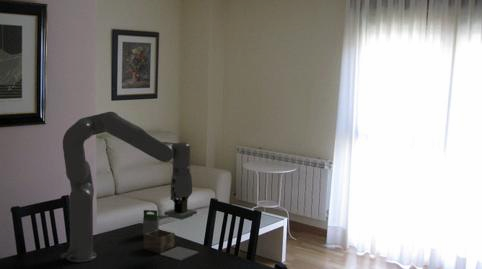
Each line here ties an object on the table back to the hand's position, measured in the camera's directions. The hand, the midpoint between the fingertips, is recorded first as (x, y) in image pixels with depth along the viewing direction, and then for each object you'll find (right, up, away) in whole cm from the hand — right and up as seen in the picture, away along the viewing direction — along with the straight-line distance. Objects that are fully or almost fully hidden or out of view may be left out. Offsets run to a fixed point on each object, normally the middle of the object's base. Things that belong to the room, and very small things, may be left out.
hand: (180, 211), depth 246 cm
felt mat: (-1, -20, +2) cm, 20 cm away
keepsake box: (-11, -18, +9) cm, 23 cm away
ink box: (-18, -16, +27) cm, 36 cm away
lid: (0, -1, 0) cm, 1 cm away
